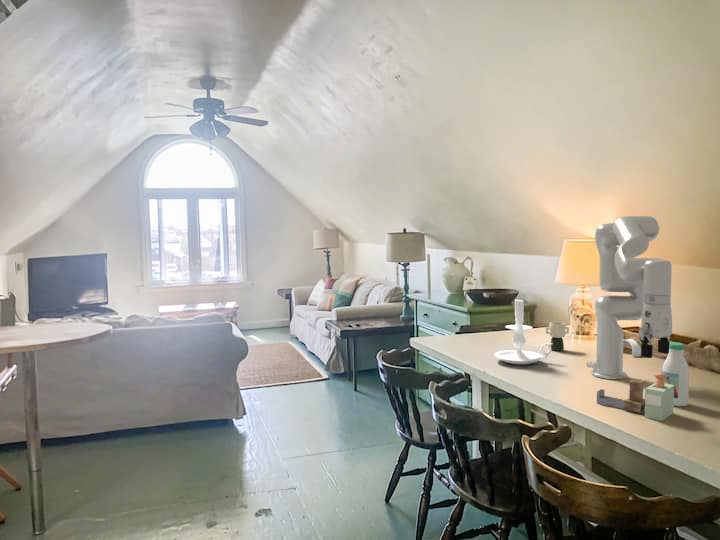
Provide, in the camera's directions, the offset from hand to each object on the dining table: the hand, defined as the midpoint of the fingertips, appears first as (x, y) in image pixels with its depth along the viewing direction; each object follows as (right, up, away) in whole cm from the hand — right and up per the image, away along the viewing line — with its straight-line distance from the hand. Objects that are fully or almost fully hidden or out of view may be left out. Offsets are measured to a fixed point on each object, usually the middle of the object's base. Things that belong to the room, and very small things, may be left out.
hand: (655, 355), depth 170 cm
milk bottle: (+13, -18, +12) cm, 25 cm away
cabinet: (+1, -19, 0) cm, 19 cm away
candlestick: (-20, -14, +69) cm, 73 cm away
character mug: (+3, -12, +92) cm, 93 cm away
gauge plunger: (+1, -12, 0) cm, 13 cm away
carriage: (-3, -18, +5) cm, 19 cm away
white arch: (+32, -13, +89) cm, 95 cm away
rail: (-6, -18, +7) cm, 20 cm away
